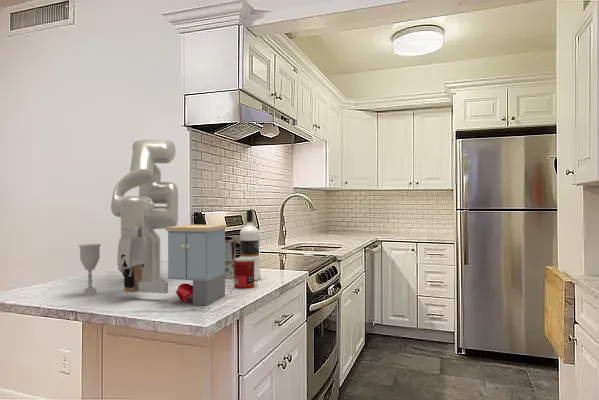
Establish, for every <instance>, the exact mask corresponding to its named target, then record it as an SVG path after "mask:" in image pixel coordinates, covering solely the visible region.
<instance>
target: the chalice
mask: <svg viewBox="0 0 599 400" xmlns="http://www.w3.org/2000/svg"><path fill="white" fill-rule="evenodd" d="M101 246H102V244H101V243H87V244H86V243H85V244H79V245H78V247H79V258H80V259H79V260H80V262H81V265H82V266H83V268H84V270H85V271H87V272H88V274H87V284H88V285H87V287H86V288H84V291H83V293H82V294H81V296H83V297H90V296H91V297H92V296H95V295H98V294H99V293H98V291H97V289H96V288H95V287H94V286H93V285H92V284H93V283H92V282H93V279H92V277H93V274H92V271H93V270H95V269H96V267H97V264H98V263H99V260H100V252H101V251H100V247H101Z"/></svg>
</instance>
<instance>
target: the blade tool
mask: <svg viewBox="0 0 599 400" xmlns="http://www.w3.org/2000/svg"><path fill="white" fill-rule="evenodd" d="M127 267H128V266H127ZM127 270H128V271H129V269H127ZM132 276H133V288H126V287H124V286H123V287H124V289H123V291H124V292H126V293H136V292H137V293H138V292H139V293H150V294H164V295H166V294H169V282H168V281H162V282H158V281H143V280H142V264H140V265H136V266H134V267H133V270H132Z"/></svg>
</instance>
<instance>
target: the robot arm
mask: <svg viewBox="0 0 599 400" xmlns="http://www.w3.org/2000/svg"><path fill="white" fill-rule="evenodd" d="M131 156H132V157H131V161H130V162H131V163H130V170H129V172H128V173H127V174H126V175H124V176H123V177H122V178H120V180H118V182H117V183H116V184H115V186H114V189H113V192H112V197H111V203H110V211H111V213H112V214H113V216H115V217H117V218H120V238H119V241H118V246H117V258H116V260H117V261H116V263H117V267H118V268H117V270H118V271H119V272H120V273H121V274H122V276H123V287H126V288H133V276H132V270H133V267H134V266H136V265H140V264H142V280H143V281H158V282H165V277H164V276H161V239H160V236H159V234H158V233H157V232H156V231H155V230H166V227H172V226H178V222H179V221H178V220H179V189H178V186H177V184H176V183H174V182H171V181H162V180H161V178H162V177H161V176H162V175H161V174H162V171H161V169H160V167H158V166H157V165H156V164H170V163H171V162H172V161H173V160H174V158H175V156H176V145H175V143H174V142H173V141H172V140H167V139H165V140H161V139H160V140H159V139H139V140H136V141H134V142H133V144H132V154H131ZM137 187H139V188H138V196H130V195H129V196H127V195H126V196H125V194H126V193H127V192H128V191H130V190H132V189H134V188H137ZM158 205H159V206H158ZM160 205H161V206H160ZM163 205H165V206H163ZM127 266H128V267H127ZM127 269H129V271H128V270H127Z"/></svg>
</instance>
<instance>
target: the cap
mask: <svg viewBox="0 0 599 400" xmlns="http://www.w3.org/2000/svg"><path fill="white" fill-rule="evenodd" d="M175 293H176V295H177V297H178V298H179V301H181V302H182V301H183V300H184V302H185V303H186V304H188V303H189V300H188V298H189V297H191V296H193V284H190V283H181V284H179V285H178V287H177V290H176V291H175Z"/></svg>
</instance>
